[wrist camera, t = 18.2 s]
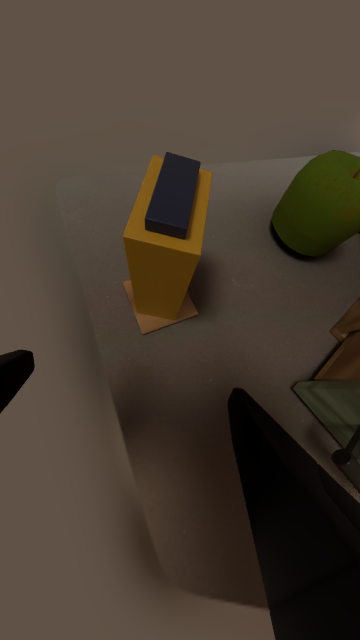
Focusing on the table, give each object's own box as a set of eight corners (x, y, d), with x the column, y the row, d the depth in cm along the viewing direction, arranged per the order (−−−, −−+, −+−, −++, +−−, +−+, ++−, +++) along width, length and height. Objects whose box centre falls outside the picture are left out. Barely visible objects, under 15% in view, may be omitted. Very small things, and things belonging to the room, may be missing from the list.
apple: (250, 228, 28) (306, 142, 18) (285, 205, 32) (347, 122, 22) (303, 276, 26) (397, 209, 16) (334, 245, 30) (426, 175, 20)
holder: (175, 320, 20) (204, 244, 9) (136, 313, 20) (120, 223, 9) (185, 265, 23) (216, 159, 12) (151, 257, 23) (153, 139, 12)
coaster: (197, 315, 21) (198, 313, 21) (142, 335, 19) (142, 334, 19) (175, 269, 23) (175, 267, 23) (122, 283, 21) (122, 281, 21)
